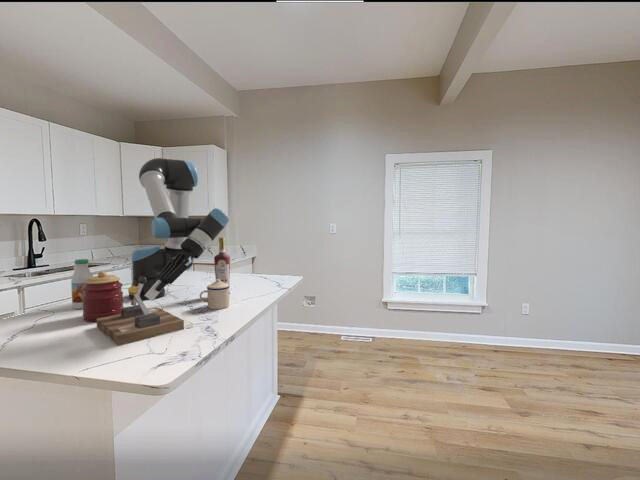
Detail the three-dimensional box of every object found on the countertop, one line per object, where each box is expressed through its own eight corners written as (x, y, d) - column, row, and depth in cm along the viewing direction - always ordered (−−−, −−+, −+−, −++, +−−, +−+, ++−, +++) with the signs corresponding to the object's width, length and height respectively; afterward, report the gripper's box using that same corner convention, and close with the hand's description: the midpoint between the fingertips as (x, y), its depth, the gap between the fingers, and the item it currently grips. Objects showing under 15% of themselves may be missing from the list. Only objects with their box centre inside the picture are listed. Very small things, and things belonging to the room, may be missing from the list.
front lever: (140, 315, 108) (125, 288, 104) (148, 310, 110) (134, 283, 106) (143, 317, 106) (128, 289, 102) (152, 312, 108) (137, 284, 104)
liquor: (231, 293, 162) (230, 237, 160) (230, 297, 155) (229, 238, 153) (215, 294, 160) (214, 237, 158) (214, 298, 153) (212, 238, 151)
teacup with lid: (228, 302, 146) (227, 276, 145) (231, 308, 137) (230, 280, 137) (199, 305, 141) (198, 278, 140) (200, 311, 133) (199, 283, 132)
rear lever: (127, 303, 118) (138, 275, 120) (135, 305, 120) (146, 276, 122) (130, 305, 116) (141, 276, 118) (138, 306, 118) (149, 278, 120)
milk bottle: (68, 308, 136) (65, 260, 134) (87, 303, 143) (85, 257, 141) (80, 310, 133) (77, 261, 131) (99, 305, 140) (97, 258, 139)
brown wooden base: (96, 327, 114) (96, 311, 113) (157, 314, 128) (156, 300, 128) (117, 345, 98) (117, 326, 98) (183, 328, 113) (183, 312, 112)
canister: (128, 310, 133) (126, 267, 132) (117, 321, 120) (115, 273, 119) (91, 312, 130) (89, 268, 129) (76, 323, 117) (73, 274, 116)
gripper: (211, 252, 116) (164, 308, 106) (194, 249, 125) (149, 300, 115) (197, 238, 112) (146, 295, 101) (180, 236, 121) (132, 288, 110)
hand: (148, 298), depth 108 cm, fingers closed
